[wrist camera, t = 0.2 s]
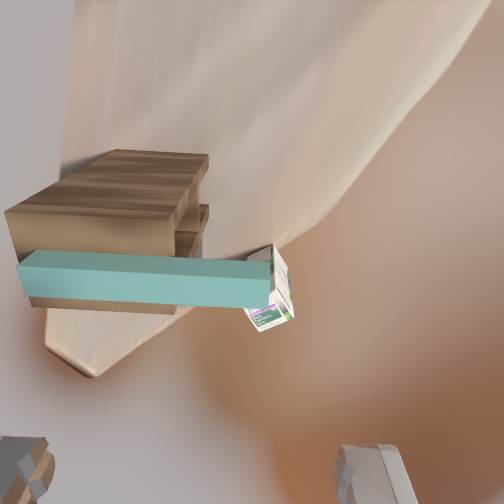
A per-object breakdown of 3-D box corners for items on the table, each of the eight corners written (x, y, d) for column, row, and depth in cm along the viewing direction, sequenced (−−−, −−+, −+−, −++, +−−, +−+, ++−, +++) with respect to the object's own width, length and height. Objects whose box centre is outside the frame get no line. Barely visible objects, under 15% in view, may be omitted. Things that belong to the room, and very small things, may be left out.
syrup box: (260, 281, 63) (259, 335, 51) (243, 255, 61) (239, 306, 48) (288, 268, 62) (295, 320, 49) (273, 241, 60) (276, 289, 47)
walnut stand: (115, 149, 53) (3, 211, 30) (208, 154, 53) (167, 220, 30) (123, 211, 58) (31, 306, 35) (208, 216, 58) (173, 314, 35)
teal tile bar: (36, 249, 32) (16, 266, 29) (269, 262, 32) (270, 280, 29) (44, 277, 33) (25, 296, 30) (267, 290, 33) (268, 309, 31)
